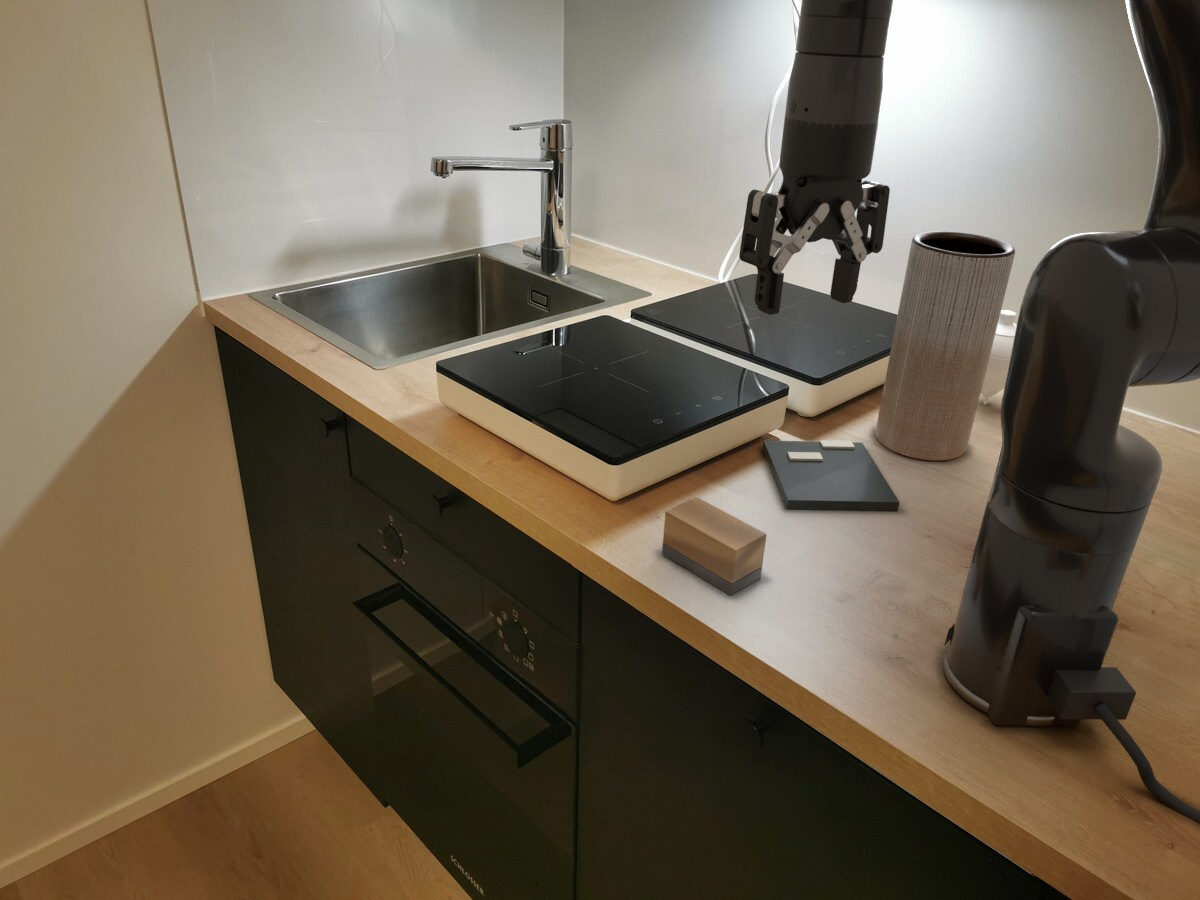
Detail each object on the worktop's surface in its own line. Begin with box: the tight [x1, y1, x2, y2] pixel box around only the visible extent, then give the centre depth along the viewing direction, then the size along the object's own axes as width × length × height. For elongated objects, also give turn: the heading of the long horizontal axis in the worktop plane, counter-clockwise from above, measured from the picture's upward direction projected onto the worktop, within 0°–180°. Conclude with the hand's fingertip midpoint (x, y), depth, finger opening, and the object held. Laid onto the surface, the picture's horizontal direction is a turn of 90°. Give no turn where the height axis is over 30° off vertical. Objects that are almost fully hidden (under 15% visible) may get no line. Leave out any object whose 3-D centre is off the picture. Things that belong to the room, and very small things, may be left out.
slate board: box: [762, 440, 900, 512], centre depth 94 cm, size 13×11×1 cm
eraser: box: [661, 496, 768, 596], centre depth 78 cm, size 4×8×4 cm, turn 42°
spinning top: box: [981, 309, 1017, 405], centre depth 110 cm, size 8×8×12 cm
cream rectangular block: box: [787, 452, 823, 461], centre depth 96 cm, size 2×4×1 cm, turn 92°
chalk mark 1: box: [819, 439, 855, 449], centre depth 99 cm, size 2×4×1 cm, turn 91°
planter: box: [875, 230, 1016, 462], centre depth 98 cm, size 10×10×23 cm
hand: (805, 306), depth 81 cm, fingers open, 8 cm apart
